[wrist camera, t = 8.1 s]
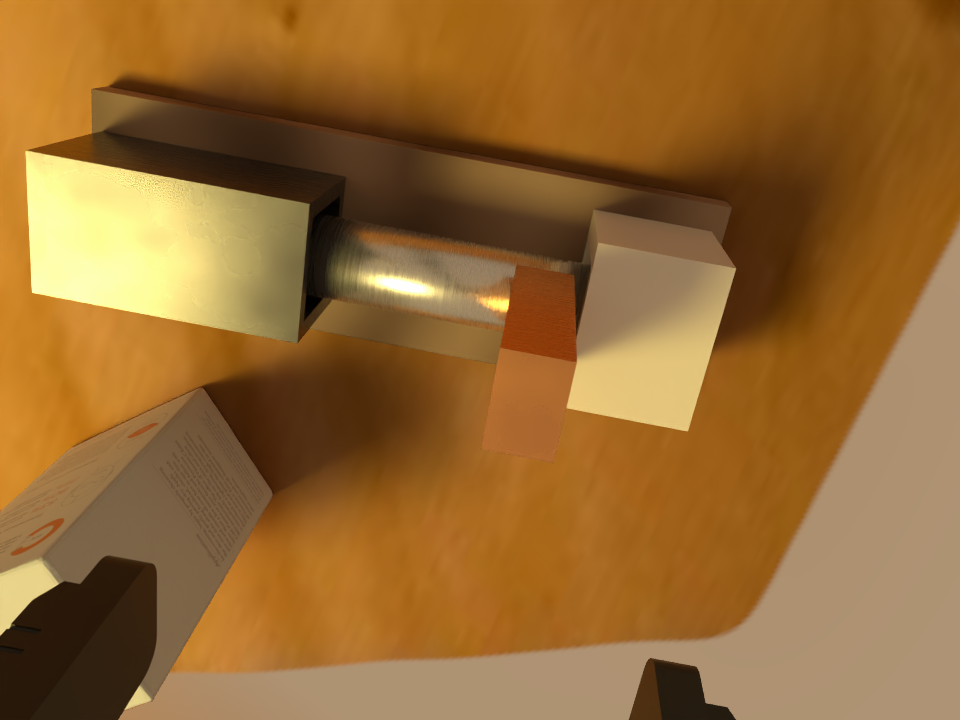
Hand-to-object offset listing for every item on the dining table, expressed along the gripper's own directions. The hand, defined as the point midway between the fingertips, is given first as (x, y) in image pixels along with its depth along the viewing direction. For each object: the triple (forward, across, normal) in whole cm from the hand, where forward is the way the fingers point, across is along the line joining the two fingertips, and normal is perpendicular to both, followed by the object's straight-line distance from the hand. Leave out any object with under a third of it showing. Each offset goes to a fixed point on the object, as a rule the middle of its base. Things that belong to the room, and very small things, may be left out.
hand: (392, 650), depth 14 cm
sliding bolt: (+20, +1, 0) cm, 20 cm away
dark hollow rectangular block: (+21, +11, 0) cm, 24 cm away
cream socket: (+21, -6, 0) cm, 22 cm away
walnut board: (+22, +4, 0) cm, 23 cm away
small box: (+23, +13, +13) cm, 29 cm away
